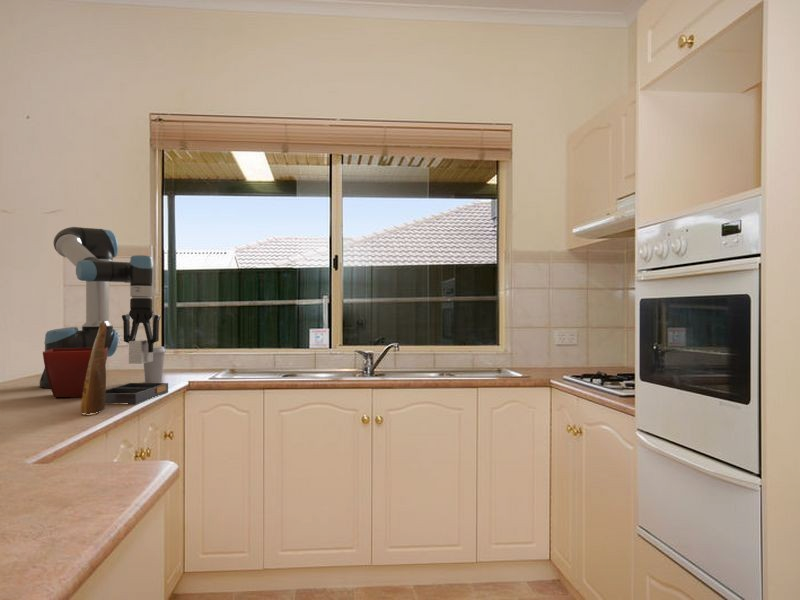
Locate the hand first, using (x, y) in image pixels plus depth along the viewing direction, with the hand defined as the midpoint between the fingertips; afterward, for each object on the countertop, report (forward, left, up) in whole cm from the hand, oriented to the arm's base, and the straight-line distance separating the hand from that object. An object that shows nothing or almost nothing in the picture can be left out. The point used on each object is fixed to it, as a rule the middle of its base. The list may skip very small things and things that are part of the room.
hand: (141, 361), depth 224 cm
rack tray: (0, -7, -12) cm, 14 cm away
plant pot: (-23, -2, -13) cm, 26 cm away
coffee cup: (-10, +35, -12) cm, 39 cm away
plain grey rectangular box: (0, 0, 0) cm, 0 cm away
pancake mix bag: (+1, -34, -13) cm, 36 cm away
